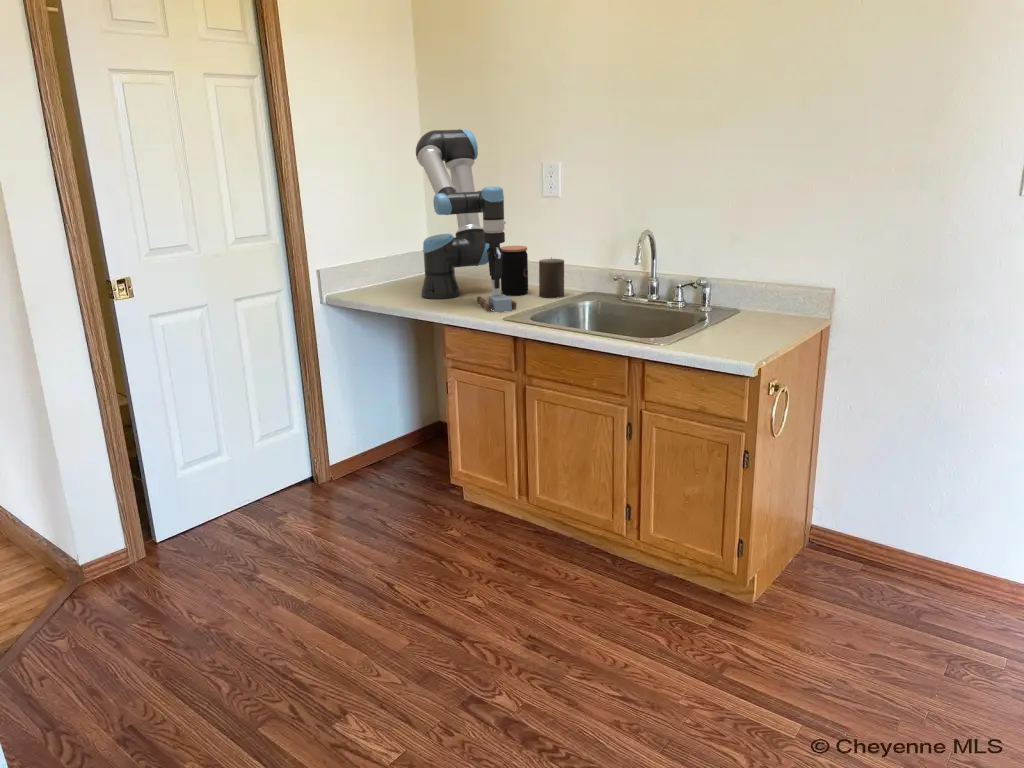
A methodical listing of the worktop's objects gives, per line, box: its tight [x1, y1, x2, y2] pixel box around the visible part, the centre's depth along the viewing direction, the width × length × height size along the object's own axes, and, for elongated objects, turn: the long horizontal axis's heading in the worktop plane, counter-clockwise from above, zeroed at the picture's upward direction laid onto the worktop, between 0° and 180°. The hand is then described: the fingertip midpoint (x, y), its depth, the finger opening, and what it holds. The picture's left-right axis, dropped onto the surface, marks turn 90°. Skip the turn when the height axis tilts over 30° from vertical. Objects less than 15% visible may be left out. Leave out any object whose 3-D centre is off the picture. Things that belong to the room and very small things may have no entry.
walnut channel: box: [476, 293, 517, 312], centre depth 288 cm, size 16×10×2 cm, turn 16°
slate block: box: [488, 294, 513, 313], centre depth 283 cm, size 9×6×4 cm, turn 16°
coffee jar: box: [500, 245, 529, 297], centre depth 308 cm, size 11×11×18 cm
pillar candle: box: [538, 256, 565, 299], centre depth 302 cm, size 10×10×15 cm
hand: (496, 296), depth 287 cm, fingers closed
